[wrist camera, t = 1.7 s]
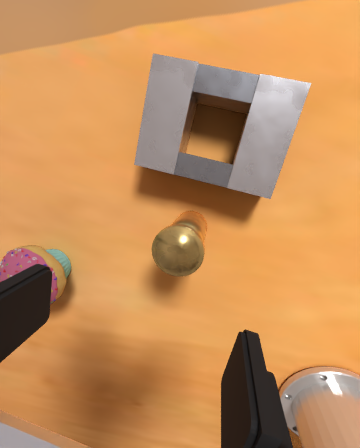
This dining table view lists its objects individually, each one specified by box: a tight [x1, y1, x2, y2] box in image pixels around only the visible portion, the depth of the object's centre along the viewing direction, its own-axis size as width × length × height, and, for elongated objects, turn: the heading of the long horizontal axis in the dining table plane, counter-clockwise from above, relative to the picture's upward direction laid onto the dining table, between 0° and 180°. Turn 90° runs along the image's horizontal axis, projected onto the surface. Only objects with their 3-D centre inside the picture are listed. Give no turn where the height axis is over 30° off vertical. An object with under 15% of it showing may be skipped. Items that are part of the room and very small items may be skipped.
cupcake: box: [0, 245, 71, 304], centre depth 27 cm, size 9×8×12 cm
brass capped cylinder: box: [152, 211, 207, 276], centre depth 23 cm, size 5×5×9 cm
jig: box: [134, 54, 311, 199], centre depth 23 cm, size 14×10×4 cm
